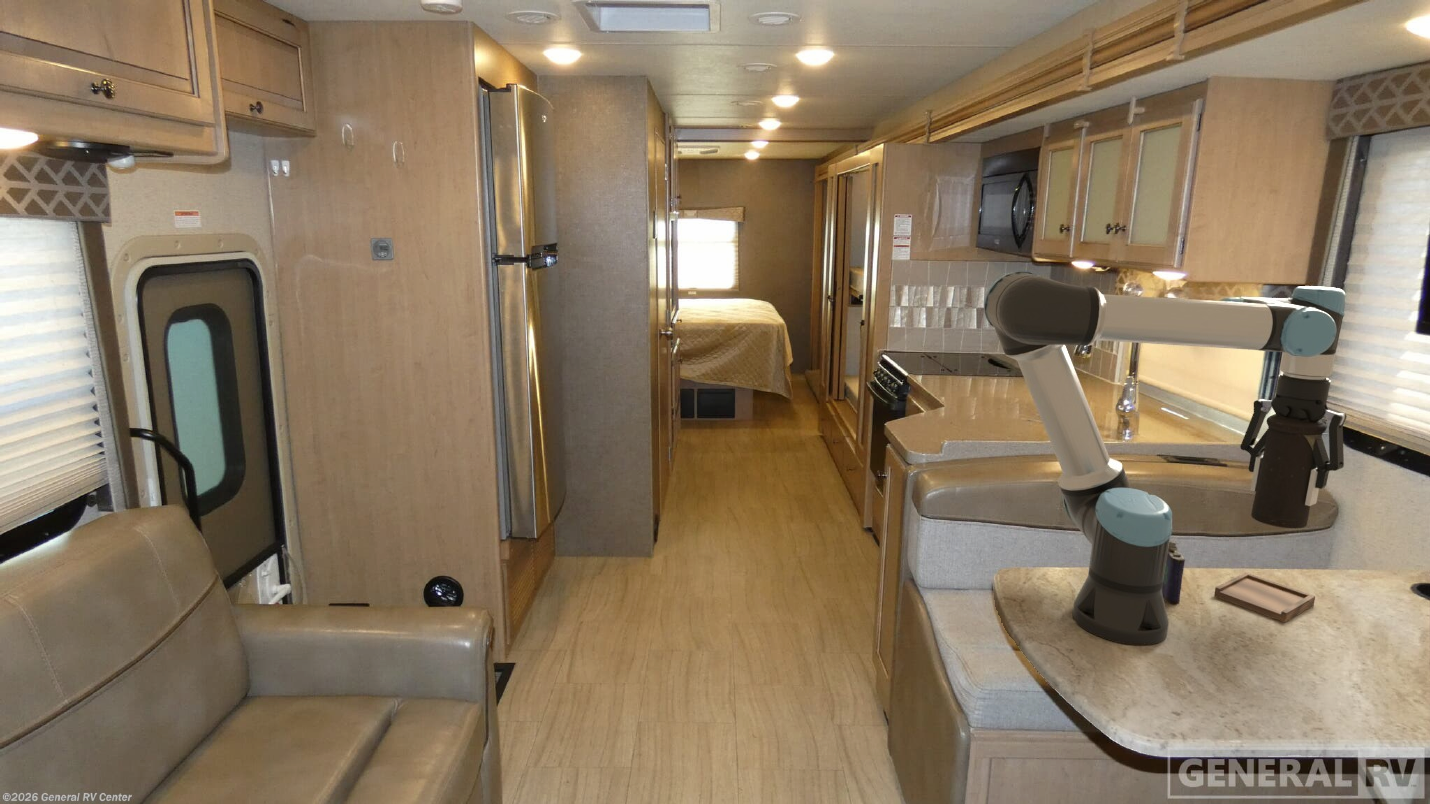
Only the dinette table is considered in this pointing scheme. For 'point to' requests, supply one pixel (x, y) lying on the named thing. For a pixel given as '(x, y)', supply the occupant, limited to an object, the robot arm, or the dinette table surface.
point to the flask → (1173, 575)
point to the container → (1286, 472)
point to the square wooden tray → (1265, 596)
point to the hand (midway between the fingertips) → (1282, 496)
